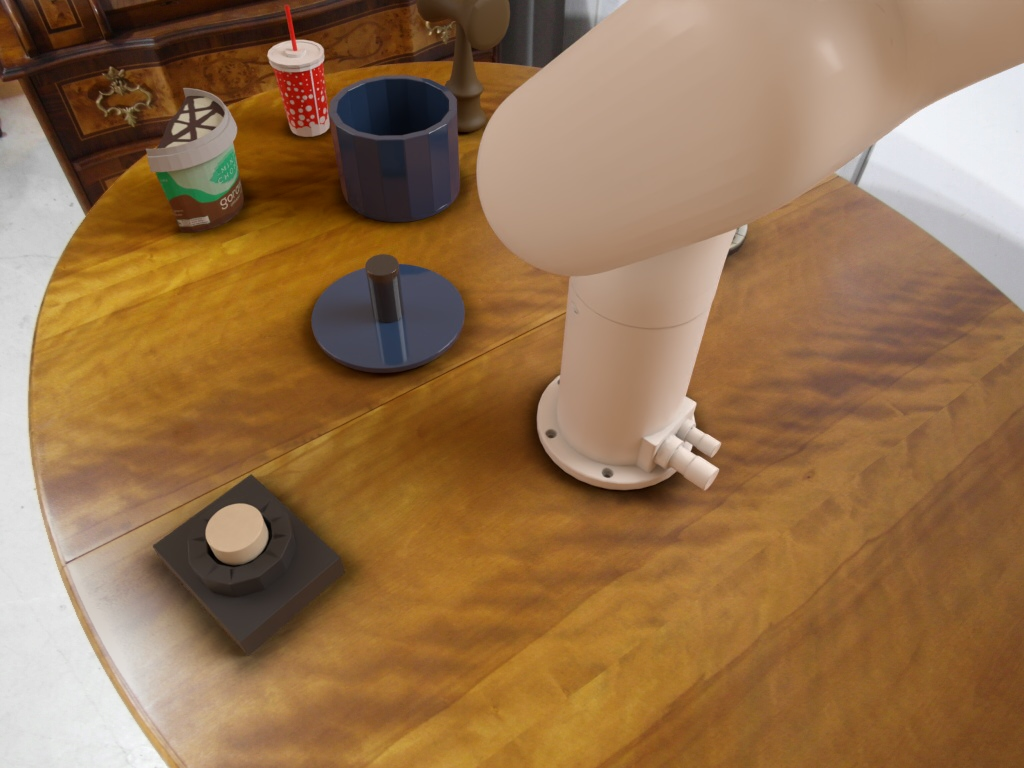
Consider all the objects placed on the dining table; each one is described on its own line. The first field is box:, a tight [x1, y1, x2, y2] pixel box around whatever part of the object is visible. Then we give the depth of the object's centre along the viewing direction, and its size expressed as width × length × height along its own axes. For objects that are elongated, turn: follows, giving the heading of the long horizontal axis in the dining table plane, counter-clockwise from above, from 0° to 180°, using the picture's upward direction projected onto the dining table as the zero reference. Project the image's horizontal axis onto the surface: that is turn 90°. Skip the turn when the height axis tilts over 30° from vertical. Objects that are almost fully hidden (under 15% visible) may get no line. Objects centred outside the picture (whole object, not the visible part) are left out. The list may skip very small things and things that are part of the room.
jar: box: [328, 74, 461, 223], centre depth 80 cm, size 13×13×10 cm
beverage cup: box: [267, 3, 331, 138], centre depth 87 cm, size 6×6×14 cm
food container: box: [145, 87, 245, 233], centre depth 77 cm, size 12×6×10 cm, turn 179°
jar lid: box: [310, 253, 466, 374], centre depth 68 cm, size 14×14×7 cm
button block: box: [152, 474, 346, 657], centre depth 52 cm, size 10×8×4 cm
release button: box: [206, 504, 269, 565], centre depth 50 cm, size 4×4×2 cm
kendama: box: [415, 0, 511, 133], centre depth 85 cm, size 6×10×20 cm, turn 44°
